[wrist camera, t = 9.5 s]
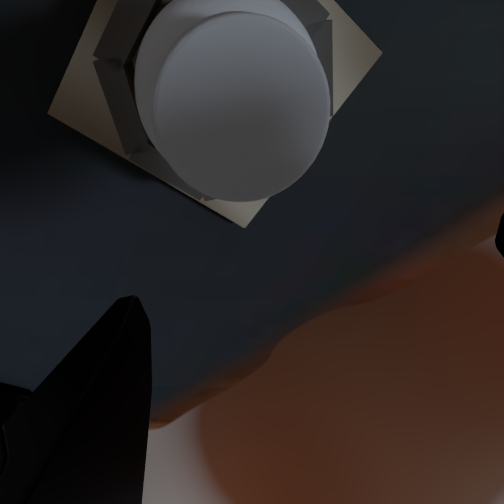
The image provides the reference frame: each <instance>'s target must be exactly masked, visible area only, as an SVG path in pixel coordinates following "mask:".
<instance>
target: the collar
mask: <svg viewBox="0 0 504 504" xmlns="http://www.w3.org/2000/svg"><path fill="white" fill-rule="evenodd" d="M171 1H173V0H97V2H96V4H95V6H94V9H93V11H92V13H91V16H90V18H89V20H88V22H87V25H86V27H85V29H84V31H83V34H82V36H81V38H80V40H79V43H78V45H77V47H76V50H75V52H74V54H73V56H72V59H71V61H70V63H69V65H68V68H67V70H66V72H65V74H64V77H63V79H62V81H61V84H60V86H59V88H58V90H57V93H56V95H55V97H54V99H53V102H52V104H51V106H50V108H49V111H48V113H47V114H49V115H51V116H53V117H54V118H56V119H58V120H59V121H61V122H63V123H65V124H66V125H68V126H70V127H71V128H73V129H75V130H77V131H78V132H80V133H82V134H83V135H85V136H87V137H89V138H90V139H92V140H94V141H95V142H97V143H99V144H101V145H102V146H104V147H106V148H108V149H109V150H111V151H113V152H114V153H116V154H118V155H120V156H121V157H123V158H125V159H126V160H128V161H130V162H132V163H133V164H135V165H137V166H138V167H140V168H142V169H144V170H145V171H147V172H149V173H150V174H152V175H154V176H156V177H157V178H159V179H161V180H163V181H164V182H166V183H168V184H169V185H171V186H173V187H175V188H176V189H178V190H180V191H181V192H183V193H185V194H187V195H188V196H190V197H192V198H193V199H195V200H197V201H199V202H200V203H202V204H204V205H205V206H207V207H209V208H211V209H212V210H214V211H216V212H218V213H219V214H221V215H223V216H224V217H226V218H228V219H230V220H231V221H233V222H235V223H236V224H238V225H240V226H242V227H243V228H245V227H246V226H247V225H248V223H249V222H250V221H251V220H252V218H253V217H254V216H255V215H256V213H257V212H258V211H259V209H260V208H261V207H262V206H263V204H264V203H265V202H266V201H267V199H268V198H269V197H267V198H264V199H260V200H256V201H250V202H230V201H223V200H220V199H216V198H212V197H210V196H207V195H205V194H202V193H201V192H199V191H197V190H196V189H194V188H193V187H191V186H189V185H188V184H187V183H186V182H184V181H183V180H182V179H181V178H180V177H179V176H178V175H177V174H176V173H175V171H174V170H173V169H172V168H171V166H170V165H169V164H168V162H167V161H166V160H165V159H164V158H163V157H162V155H161V154H160V153H159V152H158V151H157V149H156V148H155V146H154V145H153V143H152V142H151V140H150V139H149V137H148V135H147V133H146V131H145V129H144V127H143V125H142V122H141V119H140V116H139V113H138V109H137V104H136V98H135V86H134V79H135V66H136V60H137V56H138V52H139V48H140V46H141V43H142V40H143V38H144V36H145V34H146V32H147V30H148V28H149V27H150V25H151V24H152V22H153V21H154V19H155V18H156V16H157V15H158V14H159V13H160V12H161V10H162V9H163V8H164V7H165V6H167V5H168V4H169V3H170V2H171ZM280 1H281V2H283V3H284V4H285V5H286V6H287V7H288V8H289V9H290V10H291V11H292V12H293V13H294V14H295V15H296V17H297V18H298V19H299V20H300V22H301V23H302V25H303V26H304V27H305V29H306V31H307V32H308V34H309V36H310V38H311V40H312V42H313V45H314V47H315V50H316V53H317V57H318V59H319V60H320V62H321V65H322V67H323V69H324V72H325V75H326V78H327V82H328V87H329V94H330V119H331V118H332V117H333V115H334V114H335V113H336V111H337V110H338V109H339V108H340V106H341V105H342V104H343V103H344V101H345V100H346V99H347V97H348V96H349V95H350V94H351V92H352V91H353V90H354V89H355V87H356V86H357V85H358V84H359V82H360V81H361V80H362V78H363V77H364V76H365V75H366V73H367V72H368V71H369V70H370V68H371V67H372V66H373V64H374V63H375V62H376V61H377V59H378V58H379V57H380V56H381V54H382V52H381V51H380V50H379V49H378V47H377V46H376V45H375V44H374V43H373V42H372V41H371V40H370V39H369V38H368V37H367V36H366V35H365V33H364V32H363V31H362V30H361V29H360V28H359V27H358V26H357V25H356V24H355V23H354V22H353V21H352V19H351V18H350V17H349V16H348V15H347V14H346V13H345V12H344V11H343V10H342V9H341V8H340V7H339V5H338V4H337V3H336V2H335V1H334V0H280ZM330 119H329V124H330V122H331V120H330Z"/></svg>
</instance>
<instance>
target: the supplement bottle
mask: <svg viewBox="0 0 504 504" xmlns="http://www.w3.org/2000/svg"><path fill="white" fill-rule="evenodd" d="M134 86H135V98H136V104H137V109H138V113H139V116H140V119H141V122H142V125H143V127H144V129H145V131H146V133H147V135H148V137H149V139H150V140H151V142H152V143H153V145H154V146H155V148H156V149H157V151H158V152H159V153H160V154H161V155H162V157H163V158H164V159H165V160H166V161H167V162H168V164H169V165H170V166H171V168H172V169H173V170H174V171H175V173H176V174H177V175H178V176H179V177H180V178H181V179H182V180H183V181H184V182H186V183H187V184H188V185H189V186H191V187H193V188H194V189H196V190H197V191H199V192H201V193H202V194H205V195H207V196H210V197H212V198H216V199H220V200H223V201H230V202H250V201H256V200H260V199H264V198H267V197H270V196H272V195H275V194H277V193H279V192H281V191H283V190H284V189H286V188H287V187H289V186H290V185H292V184H293V183H294V182H296V181H297V180H298V179H299V178H300V177H301V176H302V175H303V174H304V173H305V172H306V171H307V169H308V168H309V167H310V166H311V164H312V163H313V162H314V160H315V158H316V157H317V155H318V153H319V151H320V149H321V147H322V145H323V143H324V140H325V136H326V133H327V130H328V125H329V119H330V94H329V87H328V82H327V78H326V75H325V72H324V69H323V67H322V65H321V62H320V60H319V59H318V57H317V53H316V50H315V47H314V45H313V42H312V40H311V38H310V36H309V34H308V32H307V31H306V29H305V27H304V26H303V25H302V23H301V22H300V20H299V19H298V18H297V17H296V15H295V14H294V13H293V12H292V11H291V10H290V9H289V8H288V7H287V6H286V5H285V4H284V3H283V2H281V1H280V0H173V1H171V2H170V3H169V4H168V5H167V6H165V7H164V8H163V9H162V10H161V12H160V13H159V14H158V15H157V16H156V18H155V19H154V21H153V22H152V24H151V25H150V27H149V28H148V30H147V32H146V34H145V36H144V38H143V40H142V43H141V46H140V48H139V52H138V56H137V60H136V66H135V79H134Z"/></svg>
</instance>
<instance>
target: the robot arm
mask: <svg viewBox="0 0 504 504" xmlns="http://www.w3.org/2000/svg"><path fill="white" fill-rule="evenodd" d="M495 244H496V247H497V249H498V251H499V252H500V253H501V254H502V255H503V257H504V214H503V215H502V217H501V220H500V223H499V227H498V231H497V234H496V238H495ZM151 397H152V359H151V328H150V322H149V319H148V317H147V315H146V313H145V311H144V308H143V306H142V304H141V302H140V300H139V298H138V297H137V296H135V295H132V296H127V297H123V298H119V299H118V300H117V301H116V302H115V303H114V304H113V305H112V306H111V307H110V308H109V309H108V310H107V311H106V313H105V314H104V315H103V316H102V317H101V318H100V319H99V320H98V321H97V322H96V324H95V325H94V326H93V327H92V328H91V329H90V330H89V331H88V332H87V333H86V334H85V336H84V337H83V338H82V339H81V340H80V341H79V342H78V343H77V344H76V345H75V347H74V348H73V349H72V350H71V351H70V352H69V353H68V354H67V355H66V356H65V357H64V359H63V360H62V361H61V362H60V363H59V364H58V365H57V366H56V367H55V368H54V370H53V371H52V372H51V373H50V374H49V375H48V376H47V377H46V378H45V379H44V381H43V382H42V383H41V384H40V385H39V386H38V387H37V388H36V389H35V390H34V391H33V393H32V392H30V391H27V390H23V389H19V388H15V387H11V386H7V385H3V384H0V504H142V494H143V482H144V472H145V461H146V451H147V439H148V429H149V418H150V408H151Z"/></svg>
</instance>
